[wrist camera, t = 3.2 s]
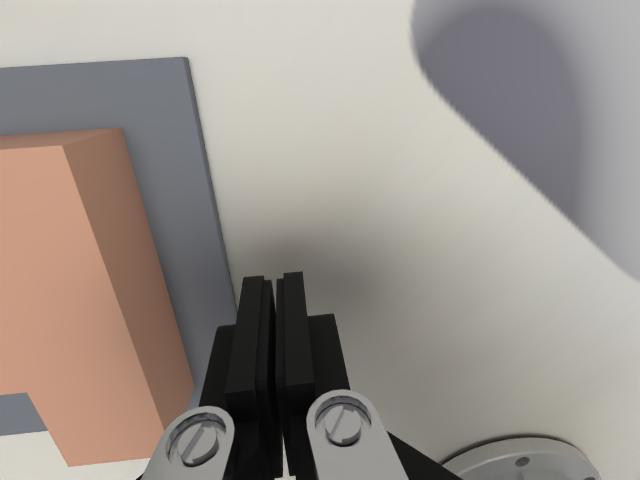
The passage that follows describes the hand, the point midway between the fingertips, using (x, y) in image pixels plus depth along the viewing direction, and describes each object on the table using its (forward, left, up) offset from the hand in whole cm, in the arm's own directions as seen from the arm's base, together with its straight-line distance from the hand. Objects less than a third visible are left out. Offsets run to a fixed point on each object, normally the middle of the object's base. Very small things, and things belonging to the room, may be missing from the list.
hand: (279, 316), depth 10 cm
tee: (-1, +10, -5) cm, 11 cm away
